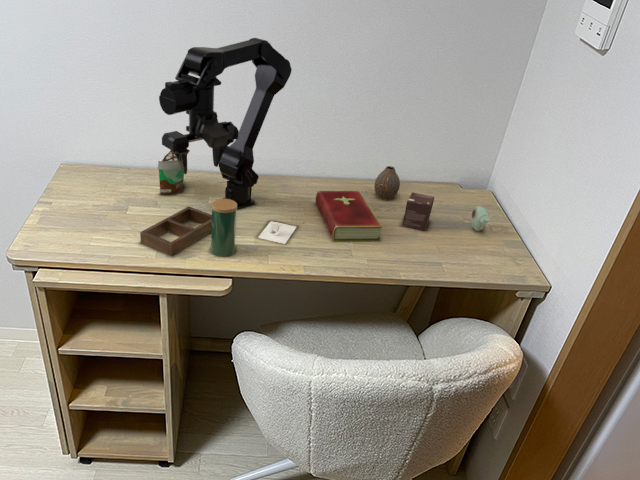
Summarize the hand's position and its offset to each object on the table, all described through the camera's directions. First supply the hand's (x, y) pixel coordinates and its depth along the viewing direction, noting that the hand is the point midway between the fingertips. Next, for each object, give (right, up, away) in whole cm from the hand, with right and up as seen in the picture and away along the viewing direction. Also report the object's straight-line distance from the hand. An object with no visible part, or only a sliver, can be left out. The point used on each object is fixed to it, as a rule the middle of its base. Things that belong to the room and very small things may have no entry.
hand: (200, 169), depth 151 cm
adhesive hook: (+19, -15, +3) cm, 25 cm away
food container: (-8, -1, +21) cm, 23 cm away
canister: (+6, -20, -6) cm, 22 cm away
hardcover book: (+37, -12, +9) cm, 40 cm away
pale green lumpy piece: (+71, -14, +9) cm, 73 cm away
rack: (-5, -16, -1) cm, 17 cm away
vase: (+51, -3, +24) cm, 56 cm away
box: (+56, -12, +10) cm, 58 cm away
